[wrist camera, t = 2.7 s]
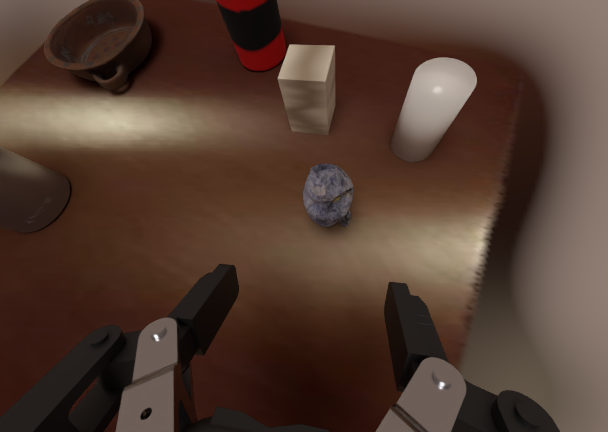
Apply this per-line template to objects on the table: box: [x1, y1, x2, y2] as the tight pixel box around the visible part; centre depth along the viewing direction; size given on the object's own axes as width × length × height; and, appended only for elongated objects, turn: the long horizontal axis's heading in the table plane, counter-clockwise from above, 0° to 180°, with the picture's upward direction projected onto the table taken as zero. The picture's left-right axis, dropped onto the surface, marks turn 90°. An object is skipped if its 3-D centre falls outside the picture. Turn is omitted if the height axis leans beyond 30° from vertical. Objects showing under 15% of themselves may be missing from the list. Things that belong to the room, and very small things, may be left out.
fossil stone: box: [303, 164, 354, 227], centre depth 22 cm, size 5×5×10 cm
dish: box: [44, 0, 152, 91], centre depth 40 cm, size 18×22×5 cm
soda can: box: [216, 0, 286, 71], centre depth 31 cm, size 8×8×12 cm
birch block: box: [278, 45, 335, 135], centre depth 28 cm, size 5×5×8 cm
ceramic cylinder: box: [390, 58, 477, 162], centre depth 24 cm, size 5×5×9 cm
